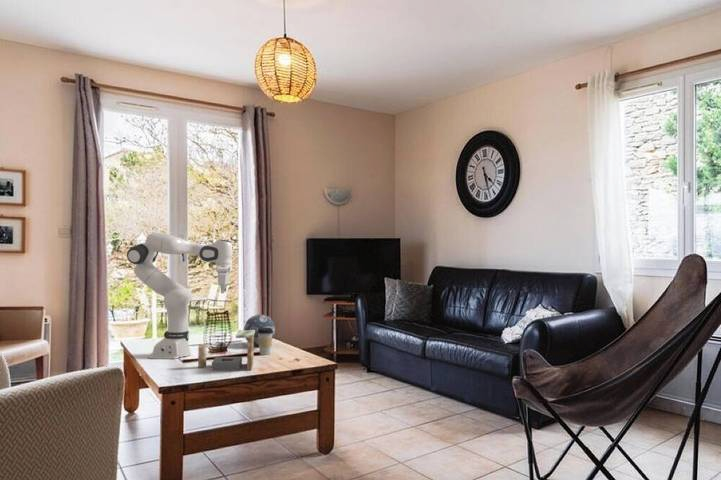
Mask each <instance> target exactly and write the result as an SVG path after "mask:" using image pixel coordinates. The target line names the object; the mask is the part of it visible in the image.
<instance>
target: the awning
mask: <svg viewBox="0 0 721 480" xmlns="http://www.w3.org/2000/svg"><path fill="white" fill-rule="evenodd" d="M254 333H255V330H244V329H240V330H238V332H237V333H236V335H235V338H236V339H246V338H248V341H247V349H246V350H247V355H246V359H247V360H246V361H247V362H246V365H247V366H246V371H252V369H253V365H254V358H255V357H254V355H255V354H254V352H255V351H254V350H255V349H254V347H255V345H254Z"/></svg>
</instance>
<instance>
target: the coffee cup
mask: <svg viewBox="0 0 721 480" xmlns="http://www.w3.org/2000/svg"><path fill="white" fill-rule="evenodd" d="M257 333H258V342H259V346H258V350H259V355H260V356H268V355H270V354H271V348H272V341H273V339H272V333H273V330H272V328H260V329H259V330H258V332H257Z"/></svg>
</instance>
